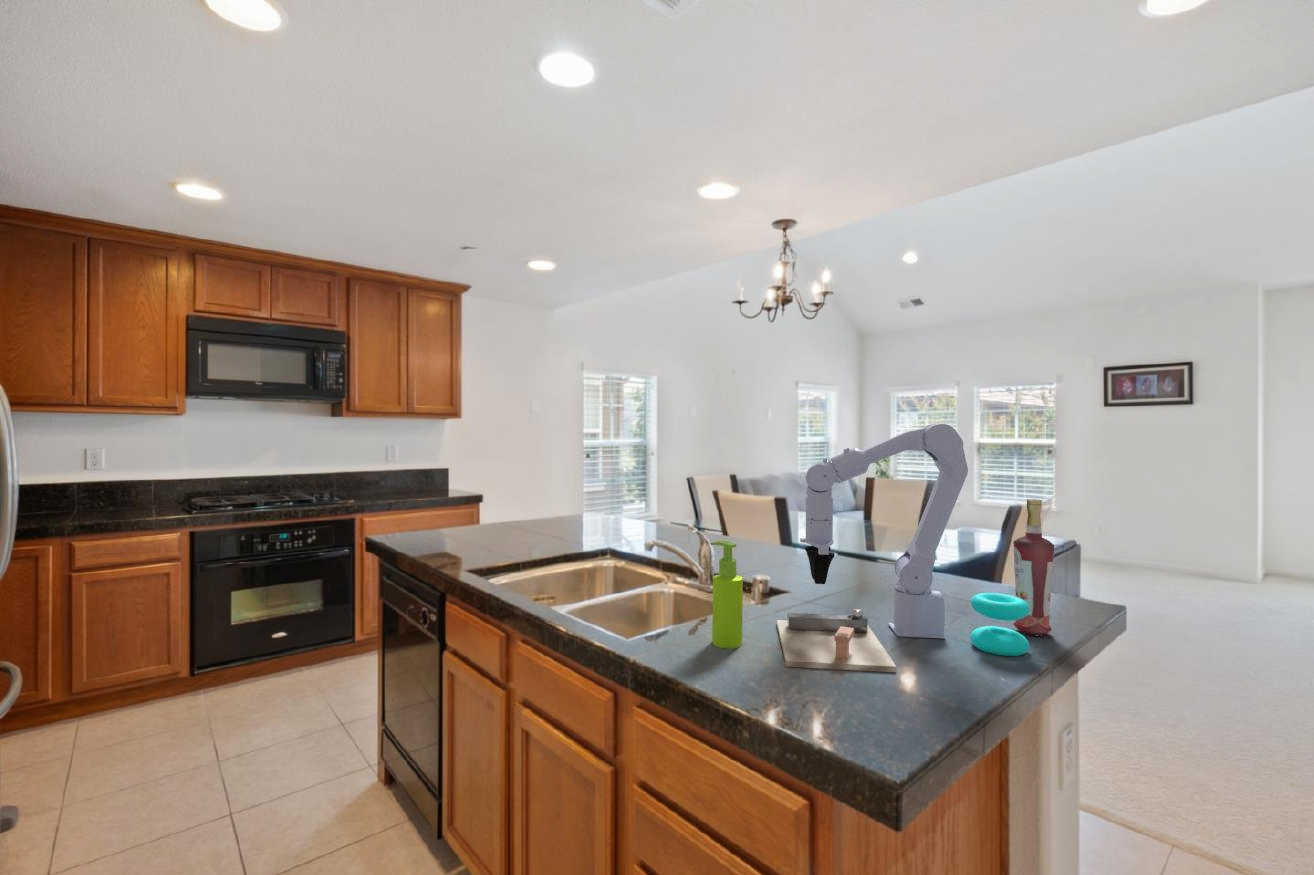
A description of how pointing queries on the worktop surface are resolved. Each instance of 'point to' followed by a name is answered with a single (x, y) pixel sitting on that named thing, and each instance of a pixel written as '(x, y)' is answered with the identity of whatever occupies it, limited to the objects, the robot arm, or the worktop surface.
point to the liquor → (1034, 573)
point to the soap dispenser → (727, 601)
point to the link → (828, 621)
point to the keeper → (843, 641)
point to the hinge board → (832, 650)
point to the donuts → (999, 637)
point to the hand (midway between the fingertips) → (818, 581)
